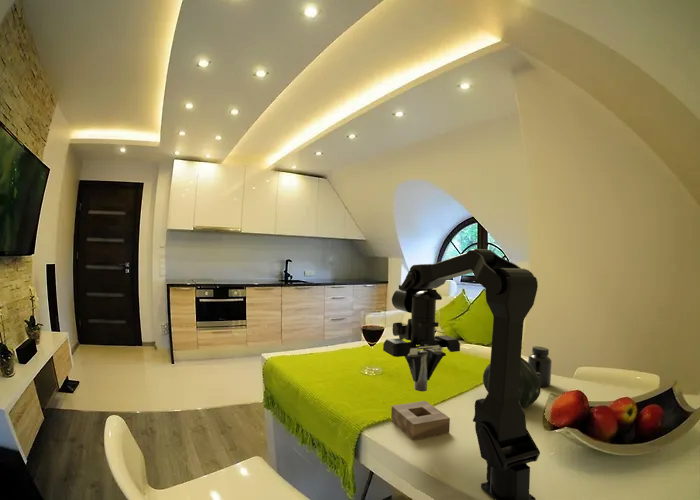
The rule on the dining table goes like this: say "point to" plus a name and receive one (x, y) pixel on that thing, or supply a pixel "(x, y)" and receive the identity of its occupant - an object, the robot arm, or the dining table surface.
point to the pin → (422, 372)
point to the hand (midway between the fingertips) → (421, 380)
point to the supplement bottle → (541, 365)
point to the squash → (522, 383)
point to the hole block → (420, 420)
